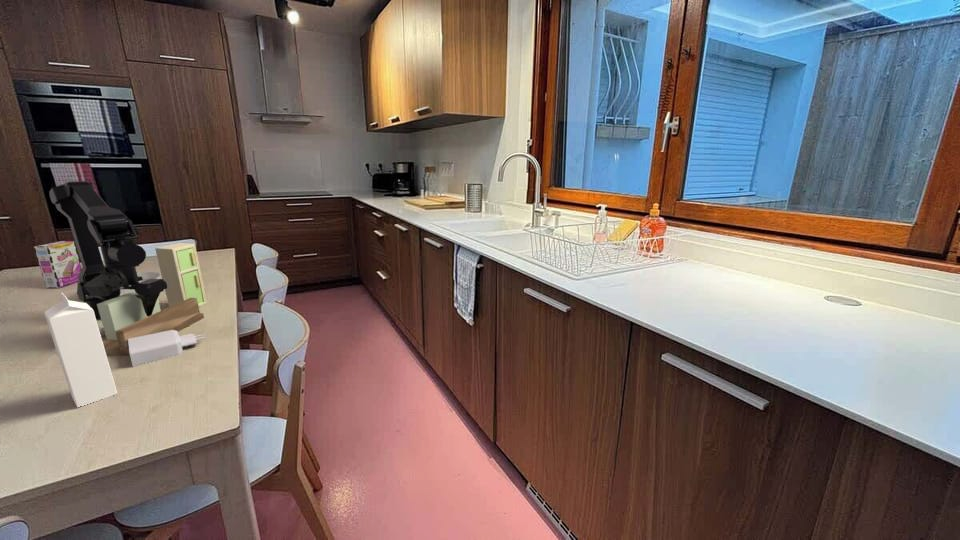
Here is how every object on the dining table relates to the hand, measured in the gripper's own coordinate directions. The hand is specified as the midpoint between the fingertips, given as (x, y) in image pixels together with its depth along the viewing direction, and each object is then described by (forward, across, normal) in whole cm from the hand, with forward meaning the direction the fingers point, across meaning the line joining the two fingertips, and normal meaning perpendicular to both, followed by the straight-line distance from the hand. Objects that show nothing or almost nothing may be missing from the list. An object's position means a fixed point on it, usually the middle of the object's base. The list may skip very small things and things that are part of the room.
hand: (133, 315), depth 107 cm
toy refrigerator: (+6, -1, +20) cm, 21 cm away
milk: (+6, +18, -29) cm, 35 cm away
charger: (+6, +17, -9) cm, 20 cm away
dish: (+6, -37, +34) cm, 51 cm away
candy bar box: (+6, -69, +42) cm, 81 cm away
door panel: (+4, 0, 0) cm, 4 cm away
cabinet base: (+6, +1, 0) cm, 6 cm away
